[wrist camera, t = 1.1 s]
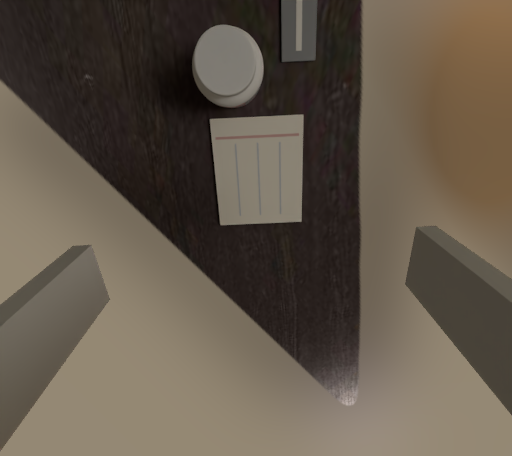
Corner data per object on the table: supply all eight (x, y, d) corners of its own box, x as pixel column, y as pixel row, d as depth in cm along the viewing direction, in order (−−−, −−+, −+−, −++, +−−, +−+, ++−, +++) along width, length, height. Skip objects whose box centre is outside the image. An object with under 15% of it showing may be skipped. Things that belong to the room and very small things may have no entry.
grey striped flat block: (280, -21, 23) (281, -23, 23) (317, -23, 23) (317, -25, 23) (281, 62, 26) (282, 61, 25) (314, 60, 26) (315, 60, 25)
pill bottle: (222, 118, 28) (208, 121, 19) (193, 63, 26) (165, 40, 18) (271, 91, 27) (278, 82, 18) (245, 32, 25) (241, -7, 17)
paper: (210, 119, 28) (209, 119, 27) (302, 114, 27) (303, 114, 27) (220, 223, 32) (220, 225, 31) (300, 220, 32) (301, 221, 31)
